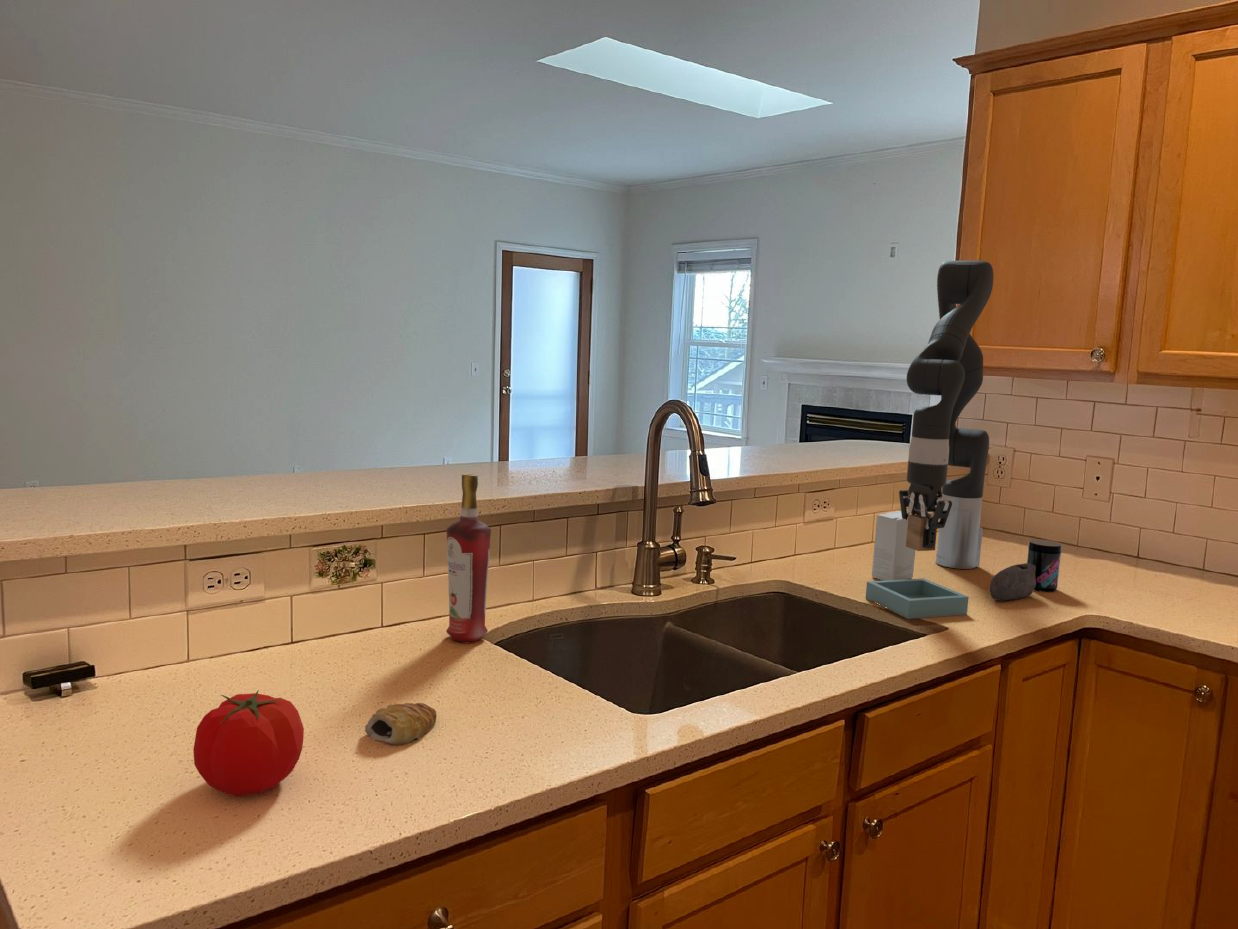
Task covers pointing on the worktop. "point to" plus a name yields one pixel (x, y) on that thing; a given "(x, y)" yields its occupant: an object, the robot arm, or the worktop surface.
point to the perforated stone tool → (1013, 582)
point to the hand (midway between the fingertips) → (920, 544)
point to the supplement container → (1045, 563)
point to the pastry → (401, 723)
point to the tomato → (248, 743)
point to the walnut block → (916, 533)
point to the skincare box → (892, 548)
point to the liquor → (468, 568)
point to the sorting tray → (917, 598)
